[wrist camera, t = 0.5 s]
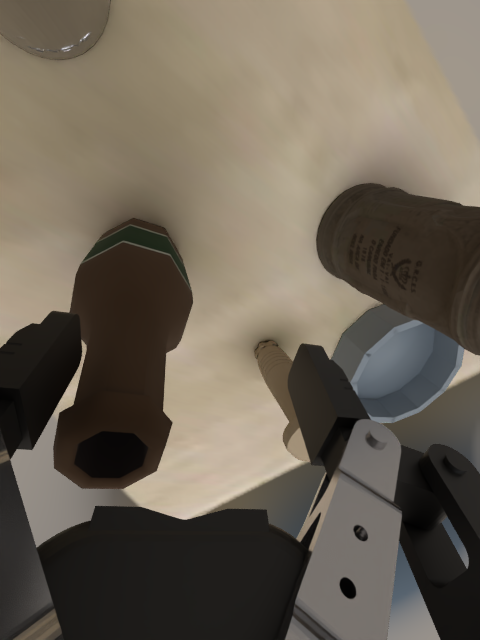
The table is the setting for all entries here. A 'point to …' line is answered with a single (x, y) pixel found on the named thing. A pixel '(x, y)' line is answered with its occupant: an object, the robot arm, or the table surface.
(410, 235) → the beer stein
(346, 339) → the bowl
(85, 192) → the table surface
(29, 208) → the table surface
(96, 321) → the beer bottle
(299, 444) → the handle
